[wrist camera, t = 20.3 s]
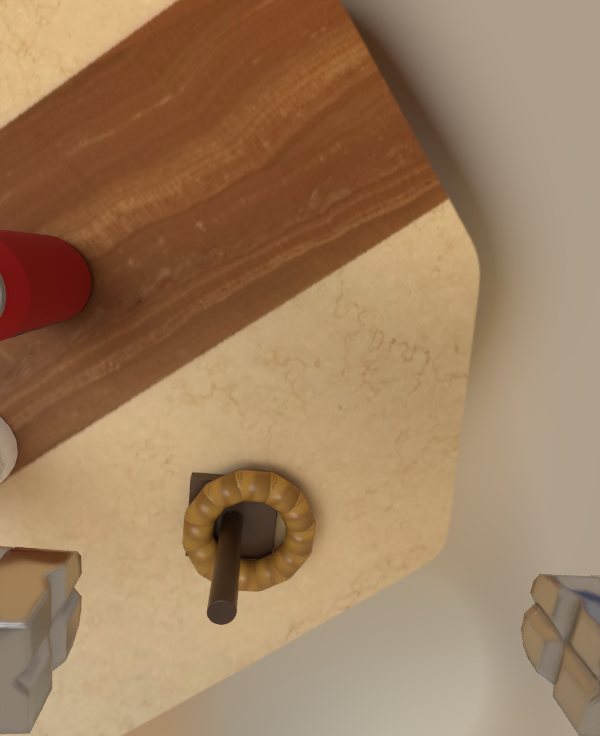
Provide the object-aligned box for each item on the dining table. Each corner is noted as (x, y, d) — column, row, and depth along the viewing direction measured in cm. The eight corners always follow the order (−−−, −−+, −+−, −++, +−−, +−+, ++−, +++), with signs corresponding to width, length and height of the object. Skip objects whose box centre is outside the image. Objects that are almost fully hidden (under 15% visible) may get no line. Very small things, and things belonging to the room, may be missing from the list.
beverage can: (-11, 281, 35) (-146, 292, 24) (41, 216, 34) (-72, 194, 23) (61, 338, 37) (-33, 375, 25) (113, 276, 36) (41, 286, 24)
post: (279, 478, 41) (286, 564, 30) (271, 553, 43) (274, 662, 32) (192, 472, 40) (164, 558, 29) (187, 549, 42) (158, 659, 31)
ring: (320, 471, 40) (324, 485, 38) (303, 580, 43) (306, 600, 41) (191, 460, 39) (186, 474, 37) (181, 573, 42) (176, 594, 39)
